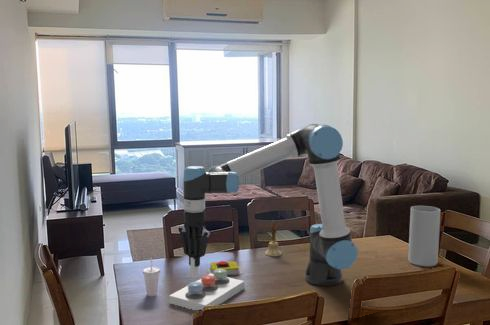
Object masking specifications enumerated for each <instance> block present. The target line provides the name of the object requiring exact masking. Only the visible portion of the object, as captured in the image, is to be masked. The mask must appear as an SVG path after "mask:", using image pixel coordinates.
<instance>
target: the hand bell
mask: <svg viewBox="0 0 490 325" xmlns="http://www.w3.org/2000/svg"><path fill="white" fill-rule="evenodd" d="M270 231H271V241H269V243H268V248H267V250H266V251H265V252H264V255H266V256H268V257H280V256H282V255H283V253H282V251H281V250H280V247H279V242H277V241H276V234H277V224H276V221H275V220H272V222H271V226H270Z"/></svg>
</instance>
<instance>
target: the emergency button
mask: <svg viewBox="0 0 490 325" xmlns="http://www.w3.org/2000/svg"><path fill="white" fill-rule="evenodd" d="M216 269H225V270H226V271H227V276H233V275H244V273H245V272H244V270H243V268H242V266H239V265H238V263H237V262H236V261H233V260H232V261H224V260H222V261H217V262H210V267H208V268H207V269H206V270H207V271H206V272H207V273H208V274H207V275H209V274H213V271H214V270H216Z"/></svg>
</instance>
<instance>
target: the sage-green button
mask: <svg viewBox="0 0 490 325" xmlns="http://www.w3.org/2000/svg"><path fill="white" fill-rule="evenodd" d="M213 276H214V277H215V279H225V278H226V277H228V275H227V271H226V270H225V269H216V270H214V271H213Z"/></svg>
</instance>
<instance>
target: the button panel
mask: <svg viewBox="0 0 490 325" xmlns="http://www.w3.org/2000/svg"><path fill="white" fill-rule="evenodd" d="M208 275H212V276H213V274H208ZM195 282H200V283H201V278H200V279H198V280H196V281H195ZM244 289H245V280H243V279H237V278H233V277H229V276H227V277H226V278H225V279H215V284H214V285H212V286H204V285H203V291H202V292H200V293H190V292H188V285H186V286H185V287H183V288H181V289H179V290H177V291H175V292H173V293H171V294H170V295H168V296H169V304H170V305H173V304H174V306H177V305H178V306H177V307H180V306H181V307H182V308H184V307H185V309H187V310H191V309H192V310H191V311H195V310H198V309H201V308H203V307H204V306H208V305H218V304H219V305H221V304H223V303H224V302H226V301H227V300H229V299H230V298H233V296H235V295H237V294H238V293H240V292H241V291H242V290H244ZM219 305H218V306H219Z"/></svg>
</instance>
